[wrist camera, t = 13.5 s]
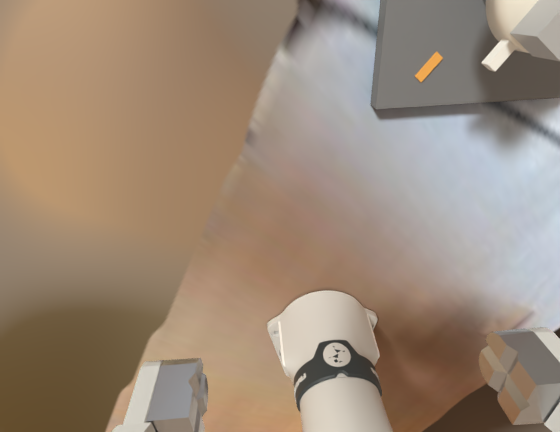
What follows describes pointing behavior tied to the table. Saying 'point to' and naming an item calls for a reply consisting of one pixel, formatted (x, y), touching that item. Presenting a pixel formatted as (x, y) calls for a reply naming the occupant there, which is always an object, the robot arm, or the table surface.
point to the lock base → (449, 58)
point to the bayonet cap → (523, 29)
